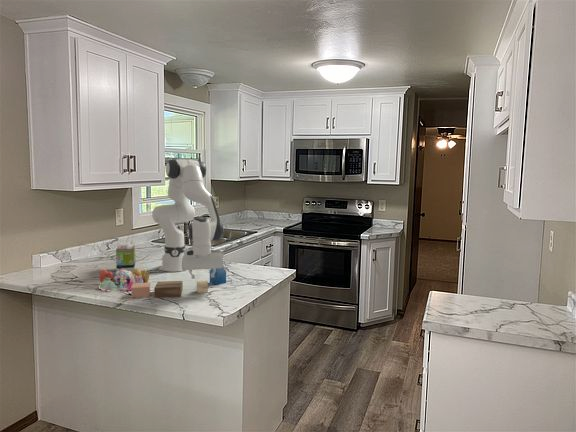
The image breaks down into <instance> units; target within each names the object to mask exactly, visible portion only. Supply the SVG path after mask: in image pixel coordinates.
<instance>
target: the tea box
mask: <svg viewBox="0 0 576 432" xmlns="http://www.w3.org/2000/svg"><path fill="white" fill-rule="evenodd" d="M115 257H116V258H115V260H116V261H115V262H116V263H115V265H116V266H115V267H116V268H115V269H116V272H117V271H120V270H124V269H125V270H126V271H131V272H132V274H134V273H133V270H134V269H136V244H118V245H117V246H116V249H115ZM116 272H115V273H116Z"/></svg>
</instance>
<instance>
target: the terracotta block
mask: <svg viewBox="0 0 576 432" xmlns="http://www.w3.org/2000/svg"><path fill="white" fill-rule="evenodd" d="M130 292H131V298H132V297H138V298H149V297H150V296H151V282H148V283H134V284H133V285H132V287H131V291H130Z"/></svg>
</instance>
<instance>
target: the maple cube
mask: <svg viewBox="0 0 576 432" xmlns="http://www.w3.org/2000/svg"><path fill="white" fill-rule="evenodd" d="M196 293H197V294H207V293H209V282H208V280H197V281H196Z"/></svg>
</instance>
